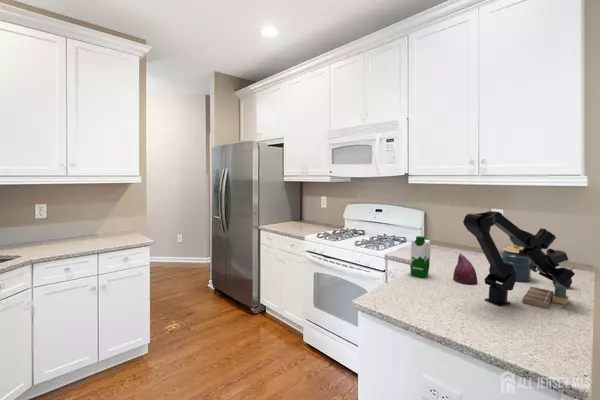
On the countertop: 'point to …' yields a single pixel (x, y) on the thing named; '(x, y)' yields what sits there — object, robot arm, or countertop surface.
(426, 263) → the milk carton
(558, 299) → the teal column with base
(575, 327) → the countertop surface
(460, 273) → the vegetable
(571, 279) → the mate gourd
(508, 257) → the canister
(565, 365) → the countertop surface
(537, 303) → the board
